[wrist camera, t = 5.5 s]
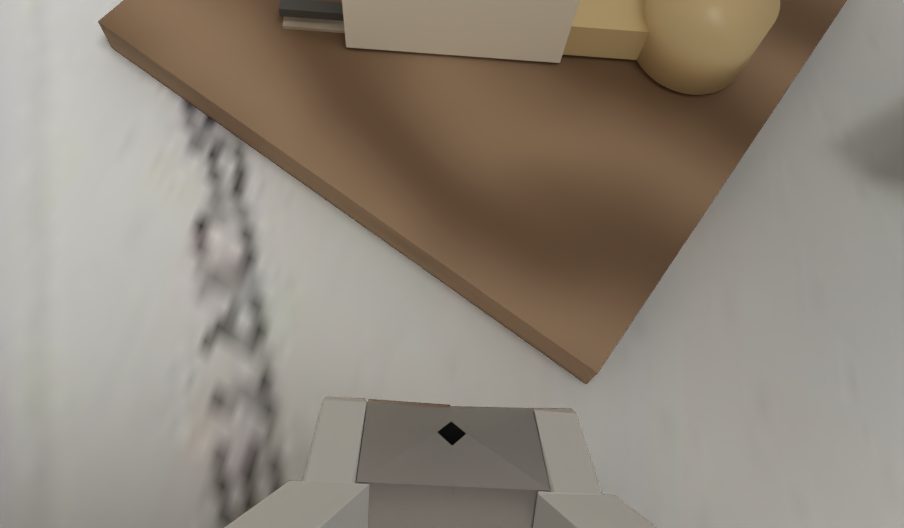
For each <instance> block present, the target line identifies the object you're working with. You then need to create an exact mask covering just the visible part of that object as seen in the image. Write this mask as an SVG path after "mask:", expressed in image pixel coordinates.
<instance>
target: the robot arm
mask: <svg viewBox="0 0 904 528" xmlns="http://www.w3.org/2000/svg"><path fill="white" fill-rule="evenodd" d="M224 528H657V527H655V526H654V525H653V524H651V523H650V522H649V521H648V520H646V519H645V518H644V517H642V516H641V515H640V514H638V513H637V512H636V511H635V510H633V509H632V508H631V507H629V506H628V505H627V504H625V503H624V502H623V501H622V500H620V499H619V498H618V497H616V496H615V495H603V494H602V492H601V489H600V486H599V483H598V480H597V477H596V473H595V470H594V467H593V464H592V461H591V458H590V455H589V452H588V448H587V445H586V442H585V439H584V436H583V433H582V430H581V426H580V423H579V420H578V417H577V414H576V412H575V411H574V410H572V409H567V408H500V407H461V406H450V405H445V404H430V403H416V402H402V401H388V400H374V399H369V400H368V402H367V400H366V399H365V398H341V397H326V398H325V399H324V400H323V401H322V404H321V408H320V412H319V416H318V420H317V424H316V428H315V432H314V436H313V440H312V444H311V448H310V452H309V456H308V460H307V464H306V468H305V472H304V476H303V480H302V481H292V480H290V481H288V482H287V483H285V484H284V485H283V486H281V487H280V488H279V489H277V490H276V491H274V492H273V493H272V494H270V495H269V496H267V497H266V498H265V499H263V500H262V501H260V502H259V503H258V504H256V505H255V506H254V507H252V508H251V509H249V510H248V511H247V512H245V513H244V514H242V515H241V516H240V517H238V518H237V519H236V520H234V521H233V522H231V523H230V524H229V525H227V526H226V527H224Z"/></svg>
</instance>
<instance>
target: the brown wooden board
mask: <svg viewBox="0 0 904 528" xmlns="http://www.w3.org/2000/svg"><path fill="white" fill-rule="evenodd" d="M314 1H327V2H340V3H342V0H314ZM846 1H847V0H780V10H779V14H778V17H777V19H776V21H775V23H774V24H773V25H772V27H771V28H770V30H769V31H768V33H767V34H766V36H765V37H764V39H763V40H762V42H761V43H760V45H759V46H758V47H757V49H756V50H755V52H754V53H753V55H752V56H751V58H750V59H749V61H748V62H747V64H746V65H745V67H744V68H743V69H742V71H741V72H740V74H739V75H738V77H737V78H736V79H735V80H734V81H733V82H732V83H731V84H730V85H729V86H727V87H726V88H724V89H722V90H720V91H717V92H715V93H710V94H704V95H691V94H684V93H680V92H676V91H673V90H670V89H668V88H666V87H664V86H662V85H661V84H659V83H657V82H656V81H655V80H653V79H652V78H651V77H650V76H649V75H648V74H647V73H645V71H644V70H643V69H642V68H641V66H640V65H639V63H638V62H637V60H629V59H616V58H602V57H589V56H575V55H562V58H561V61H560V63H553V62H539V61H525V60H512V59H498V58H485V57H471V56H458V55H444V54H430V53H417V52H403V51H390V50H376V49H363V48H349V47H346V40H345V29H344V21H337V20H324V19H311V18H297V17H284V16H280V13H279V4H280V0H124V1H122V2H121V3H120V4H119V5H118V6H116V7H115V8H114V9H113V10H111V11H110V12H109V13H108V14H107V15H105V16H104V17H103V18H102V19H101V20H99V21H98V22H99V24H100V26H101V28H102V30H103V32H104V34H105V35H106V37H107V39H108V41H109V43H110V45H111V47H112V48H113V49H115V50H116V51H117V52H119V53H120V54H122V55H123V56H124V57H126V58H127V59H129V60H130V61H131V62H133V63H134V64H136V65H137V66H139V67H140V68H141V69H143V70H144V71H146V72H147V73H148V74H150V75H151V76H153V77H154V78H155V79H157V80H158V81H160V82H161V83H163V84H164V85H165V86H167V87H168V88H170V89H171V90H172V91H174V92H175V93H177V94H178V95H179V96H181V97H182V98H184V99H185V100H187V101H188V102H189V103H191V104H192V105H194V106H195V107H196V108H198V109H199V110H201V111H202V112H203V113H205V114H206V115H208V116H209V117H210V118H212V119H213V120H215V121H216V122H218V123H219V124H220V125H222V126H223V127H225V128H226V129H227V130H229V131H230V132H232V133H233V134H234V135H236V136H237V137H239V138H240V139H242V140H243V141H244V142H246V143H247V144H249V145H250V146H251V147H253V148H254V149H256V150H257V151H258V152H260V153H261V154H263V155H264V156H265V157H267V158H268V159H270V160H271V161H273V162H274V163H275V164H277V165H278V166H280V167H281V168H282V169H284V170H285V171H287V172H288V173H289V174H291V175H292V176H294V177H295V178H297V179H298V180H299V181H301V182H302V183H304V184H305V185H306V186H308V187H309V188H311V189H312V190H313V191H315V192H316V193H318V194H319V195H321V196H322V197H323V198H325V199H326V200H328V201H329V202H330V203H332V204H333V205H335V206H336V207H337V208H339V209H340V210H342V211H343V212H344V213H346V214H347V215H349V216H350V217H352V218H353V219H354V220H356V221H357V222H359V223H360V224H361V225H363V226H364V227H366V228H367V229H368V230H370V231H371V232H373V233H374V234H376V235H377V236H378V237H380V238H381V239H383V240H384V241H385V242H387V243H388V244H390V245H391V246H392V247H394V248H395V249H397V250H398V251H400V252H401V253H402V254H404V255H405V256H407V257H408V258H409V259H411V260H412V261H414V262H415V263H416V264H418V265H419V266H421V267H422V268H423V269H425V270H426V271H428V272H429V273H431V274H432V275H433V276H435V277H436V278H438V279H439V280H440V281H442V282H443V283H445V284H446V285H447V286H449V287H450V288H452V289H453V290H455V291H456V292H457V293H459V294H460V295H462V296H463V297H464V298H466V299H467V300H469V301H470V302H471V303H473V304H474V305H476V306H477V307H478V308H480V309H481V310H483V311H484V312H486V313H487V314H488V315H490V316H491V317H493V318H494V319H495V320H497V321H498V322H500V323H501V324H502V325H504V326H505V327H507V328H508V329H510V330H511V331H512V332H514V333H515V334H517V335H518V336H519V337H521V338H522V339H524V340H525V341H526V342H528V343H529V344H531V345H532V346H534V347H535V348H536V349H538V350H539V351H541V352H542V353H543V354H545V355H546V356H548V357H549V358H550V359H552V360H553V361H555V362H556V363H557V364H559V365H560V366H562V367H563V368H565V369H566V370H567V371H569V372H570V373H572V374H573V375H574V376H576V377H577V378H579V379H580V380H581V381H583V382H584V383H586V384H587V383H588V382H589V381H590V380H591V379H592V378H593V377H594V376H595V375H596V374H597V373H598V372H599V370H600V369H601V367H602V366H603V364H604V363H605V361H606V360H607V358H608V357H609V355H610V354H611V352H612V351H613V349H614V348H615V346H616V345H617V343H618V342H619V340H620V339H621V337H622V336H623V334H624V333H625V331H626V330H627V328H628V327H629V325H630V324H631V322H632V321H633V319H634V318H635V316H636V315H637V313H638V312H639V310H640V309H641V307H642V306H643V304H644V303H645V301H646V300H647V298H648V297H649V295H650V294H651V292H652V291H653V290H654V288H655V287H656V285H657V284H658V282H659V281H660V279H661V278H662V276H663V275H664V273H665V272H666V270H667V269H668V267H669V266H670V264H671V263H672V261H673V260H674V258H675V257H676V255H677V254H678V252H679V251H680V249H681V248H682V246H683V245H684V243H685V242H686V240H687V239H688V237H689V236H690V234H691V233H692V231H693V230H694V228H695V227H696V225H697V224H698V222H699V221H700V219H701V218H702V216H703V215H704V213H705V212H706V210H707V209H708V207H709V206H710V204H711V203H712V201H713V200H714V198H715V197H716V195H717V194H718V192H719V191H720V189H721V188H722V186H723V185H724V183H725V182H726V180H727V179H728V177H729V176H730V174H731V173H732V171H733V170H734V168H735V167H736V165H737V164H738V162H739V161H740V159H741V158H742V156H743V155H744V153H745V152H746V150H747V149H748V147H749V146H750V144H751V143H752V141H753V140H754V138H755V137H756V135H757V134H758V132H759V131H760V129H761V128H762V126H763V125H764V123H765V122H766V120H767V119H768V117H769V116H770V114H771V113H772V111H773V110H774V108H775V107H776V105H777V104H778V102H779V101H780V99H781V98H782V96H783V95H784V93H785V92H786V90H787V89H788V87H789V86H790V84H791V83H792V82H793V80H794V79H795V77H796V76H797V74H798V73H799V71H800V70H801V68H802V67H803V65H804V64H805V62H806V61H807V59H808V58H809V56H810V55H811V53H812V52H813V50H814V49H815V47H816V46H817V44H818V43H819V41H820V40H821V38H822V37H823V35H824V34H825V32H826V31H827V29H828V28H829V26H830V25H831V23H832V22H833V20H834V19H835V17H836V16H837V14H838V13H839V11H840V10H841V8H842V7H843V5H844V4H845V2H846Z"/></svg>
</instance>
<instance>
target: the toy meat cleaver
mask: <svg viewBox="0 0 904 528" xmlns="http://www.w3.org/2000/svg"><path fill="white" fill-rule="evenodd" d="M779 10H780V0H342V3H340V2H327V1H314V0H280V4H279V13H280V16H284V17H297V18H311V19H324V20H337V21H344V29H345V40H346V47H349V48H363V49H376V50H390V51H403V52H417V53H430V54H444V55H458V56H471V57H485V58H498V59H512V60H525V61H539V62H553V63H560V61H561V58H562V55H575V56H589V57H602V58H616V59H629V60H637V62H638V63H639V65H640V66H641V68H642V69H643V70H644V71H645V73H647V74H648V75H649V76H650V77H651V78H652V79H653V80H655V81H656V82H657V83H659V84H661V85H662V86H664V87H666V88H668V89H670V90H673V91H676V92H680V93H684V94H691V95H704V94H710V93H715V92H717V91H720V90H722V89H724V88H726V87H727V86H729V85H730V84H731V83H732V82H733V81H734V80H735V79H736V78H737V77H738V75H739V74H740V72H741V71H742V69H743V68H744V67H745V65H746V64H747V62H748V61H749V59H750V58H751V56H752V55H753V53H754V52H755V50H756V49H757V47H758V46H759V45H760V43H761V42H762V40H763V39H764V37H765V36H766V34H767V33H768V31H769V30H770V28H771V27H772V25H773V24H774V23H775V21H776V19H777V17H778V14H779Z"/></svg>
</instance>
